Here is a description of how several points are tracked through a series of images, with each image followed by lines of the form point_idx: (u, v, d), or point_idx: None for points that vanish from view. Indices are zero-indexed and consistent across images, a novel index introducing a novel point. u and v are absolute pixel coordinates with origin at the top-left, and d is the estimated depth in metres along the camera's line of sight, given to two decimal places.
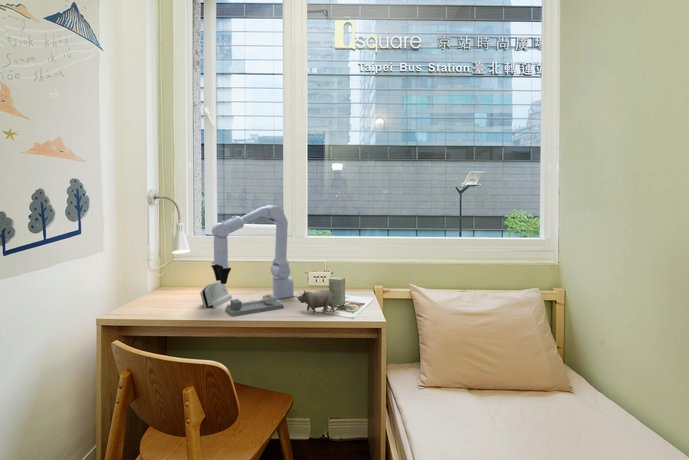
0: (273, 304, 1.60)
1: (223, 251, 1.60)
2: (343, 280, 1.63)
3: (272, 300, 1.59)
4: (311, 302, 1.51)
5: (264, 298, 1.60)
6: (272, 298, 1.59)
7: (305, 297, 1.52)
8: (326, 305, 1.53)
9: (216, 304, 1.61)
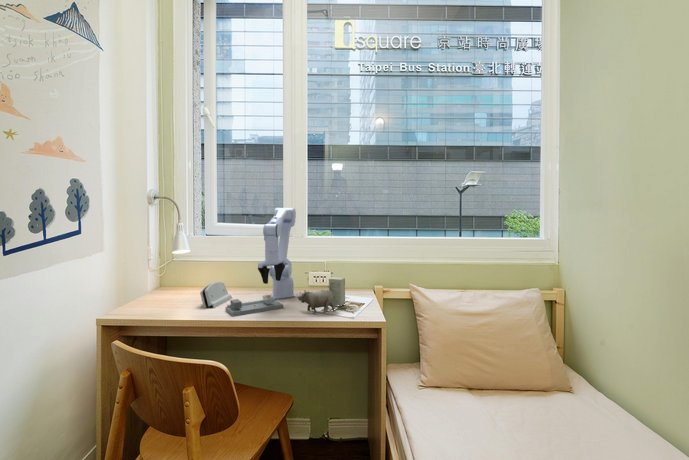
0: (273, 304, 1.60)
1: (278, 250, 1.63)
2: (343, 280, 1.63)
3: (272, 300, 1.59)
4: (311, 302, 1.52)
5: (264, 298, 1.60)
6: (272, 298, 1.59)
7: (305, 297, 1.52)
8: (326, 305, 1.53)
9: (216, 304, 1.61)
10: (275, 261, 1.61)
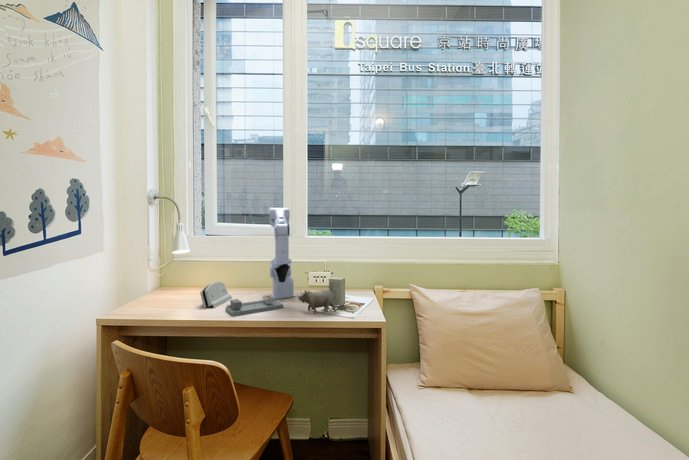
0: (273, 304, 1.60)
1: None
2: (343, 280, 1.63)
3: (272, 300, 1.59)
4: (312, 302, 1.52)
5: (264, 298, 1.60)
6: (272, 298, 1.59)
7: (306, 297, 1.53)
8: (327, 305, 1.54)
9: (216, 304, 1.61)
10: (287, 261, 1.62)
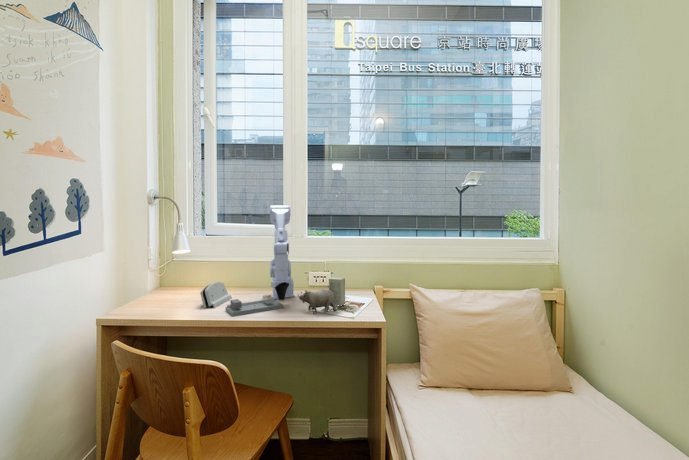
0: (273, 304, 1.60)
1: None
2: (343, 280, 1.63)
3: (272, 300, 1.59)
4: (312, 302, 1.52)
5: (264, 298, 1.60)
6: (272, 298, 1.59)
7: (306, 297, 1.53)
8: (327, 305, 1.54)
9: (216, 304, 1.61)
10: (286, 279, 1.62)
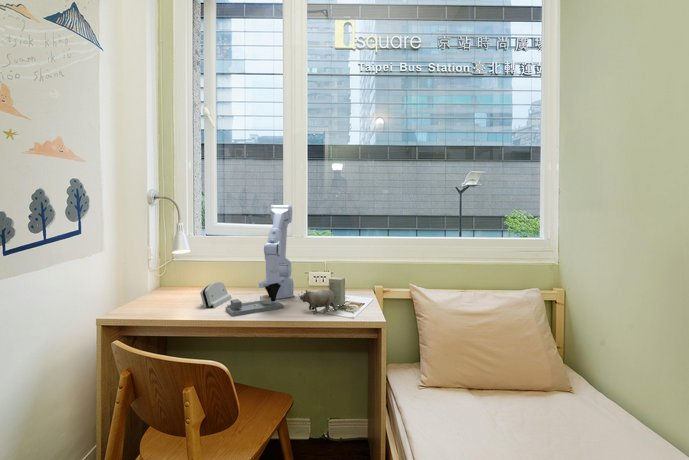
0: (273, 304, 1.60)
1: (279, 269, 1.61)
2: (343, 280, 1.63)
3: (269, 300, 1.59)
4: (312, 301, 1.52)
5: (261, 298, 1.60)
6: (269, 298, 1.58)
7: (307, 296, 1.53)
8: (327, 305, 1.54)
9: (216, 304, 1.61)
10: (276, 280, 1.59)
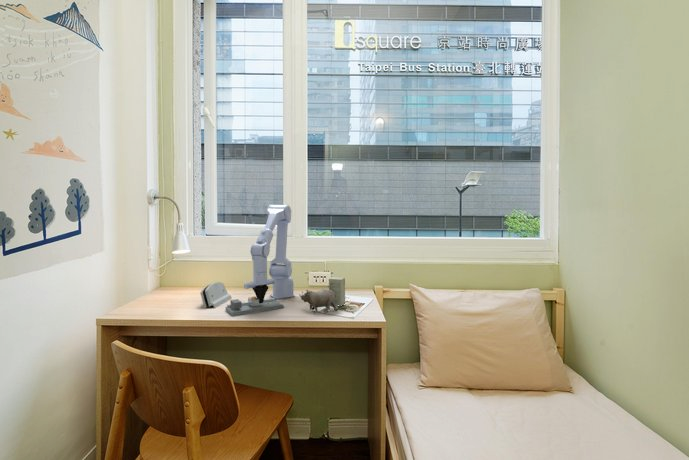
0: (273, 304, 1.60)
1: (266, 270, 1.57)
2: (343, 280, 1.63)
3: (257, 302, 1.56)
4: (313, 301, 1.52)
5: (249, 300, 1.57)
6: (257, 300, 1.56)
7: (307, 296, 1.53)
8: (328, 305, 1.54)
9: (216, 304, 1.61)
10: (262, 282, 1.56)
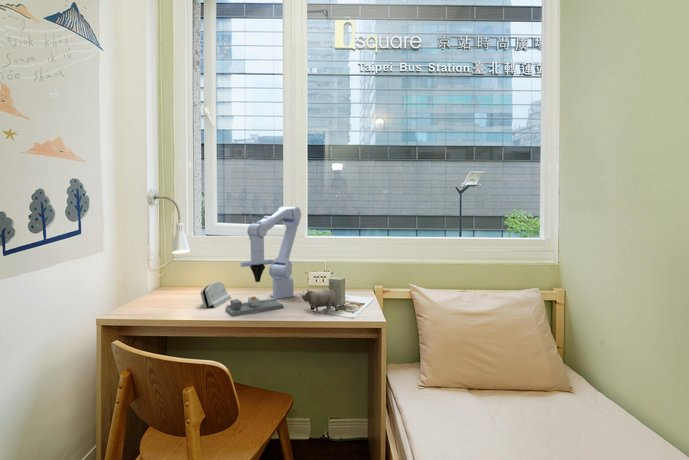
0: (273, 304, 1.60)
1: (262, 250, 1.62)
2: (343, 280, 1.63)
3: (257, 302, 1.56)
4: (313, 301, 1.53)
5: (249, 300, 1.57)
6: (257, 300, 1.56)
7: (308, 296, 1.54)
8: (329, 305, 1.54)
9: (216, 304, 1.61)
10: (258, 261, 1.60)
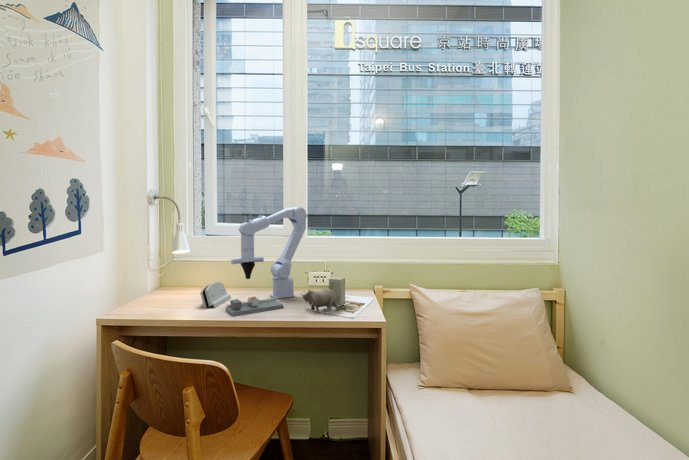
0: (273, 304, 1.60)
1: (250, 249, 1.66)
2: (343, 280, 1.63)
3: (257, 302, 1.56)
4: (314, 301, 1.53)
5: (249, 300, 1.57)
6: (257, 300, 1.56)
7: (309, 296, 1.54)
8: (329, 304, 1.54)
9: (216, 304, 1.61)
10: (248, 259, 1.66)
